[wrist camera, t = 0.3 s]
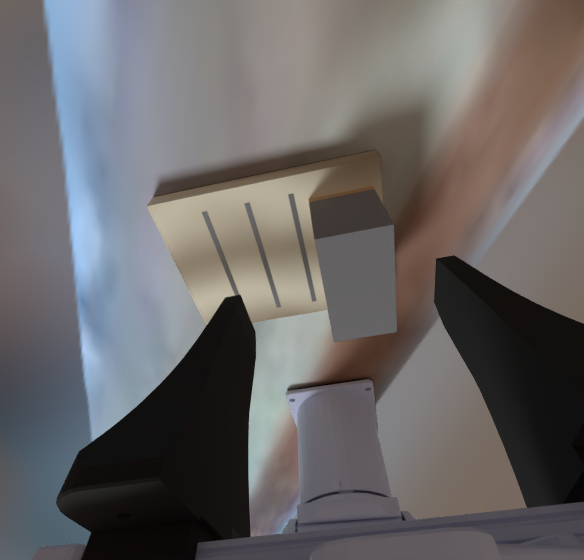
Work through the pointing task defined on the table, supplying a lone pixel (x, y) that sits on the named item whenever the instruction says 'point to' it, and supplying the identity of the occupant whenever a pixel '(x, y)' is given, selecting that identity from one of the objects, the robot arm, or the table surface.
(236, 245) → the plank
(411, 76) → the table surface
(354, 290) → the block
